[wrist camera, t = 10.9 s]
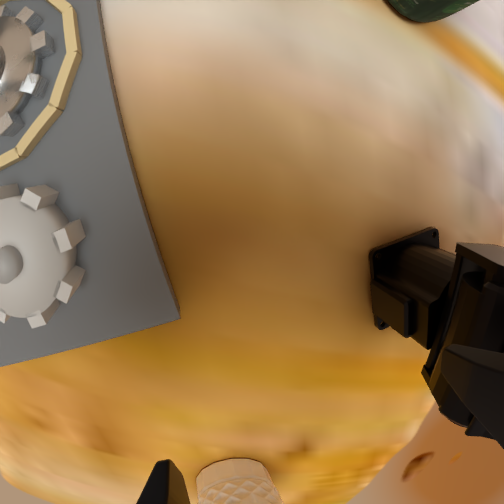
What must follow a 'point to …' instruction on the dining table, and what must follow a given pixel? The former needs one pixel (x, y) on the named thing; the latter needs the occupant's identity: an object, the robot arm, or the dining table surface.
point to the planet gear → (20, 65)
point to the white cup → (236, 483)
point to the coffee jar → (429, 8)
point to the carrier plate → (74, 205)
